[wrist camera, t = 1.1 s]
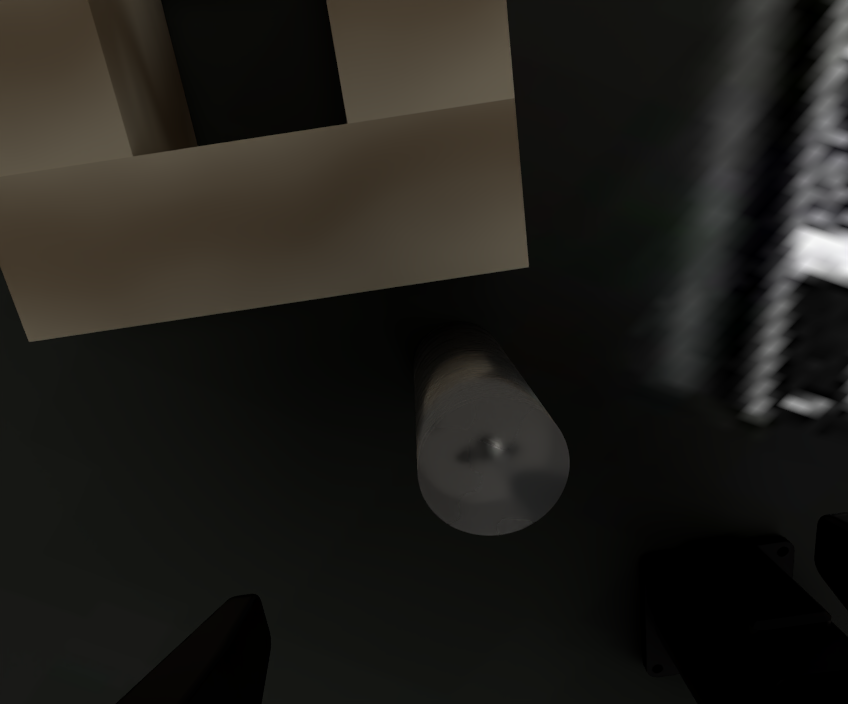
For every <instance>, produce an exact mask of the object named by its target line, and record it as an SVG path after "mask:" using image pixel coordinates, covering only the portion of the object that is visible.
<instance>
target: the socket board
mask: <svg viewBox="0 0 848 704" xmlns="http://www.w3.org/2000/svg"><path fill="white" fill-rule="evenodd" d="M326 2H327V7H328V13H329V19H330V25H331V31H332V36H333V42H334V48H335V54H336V60H337V65H338V71H339V77H340V83H341V88H342V94H343V100H344V106H345V112H346V117H347V123H348V124H342V125H336V126H329V127H323V128H316V129H310V130H303V131H297V132H290V133H284V134H277V135H270V136H264V137H257V138H251V139H244V140H238V141H231V142H225V143H218V144H211V145H205V146H198V145H197V141H196V137H195V133H194V129H193V125H192V121H191V117H190V113H189V109H188V105H187V101H186V97H185V93H184V89H183V85H182V81H181V77H180V74H179V70H178V66H177V62H176V58H175V54H174V50H173V46H172V42H171V38H170V34H169V30H168V26H167V22H166V18H165V14H164V10H163V6H162V2H161V0H0V267H1V269H2V272H3V275H4V277H5V280H6V283H7V285H8V288H9V291H10V293H11V296H12V298H13V301H14V304H15V306H16V309H17V312H18V314H19V317H20V319H21V322H22V325H23V327H24V330H25V333H26V335H27V338H28V340H29V342H32V341H39V340H45V339H52V338H59V337H65V336H72V335H79V334H85V333H92V332H99V331H105V330H112V329H119V328H126V327H132V326H139V325H146V324H152V323H159V322H166V321H172V320H179V319H186V318H192V317H199V316H206V315H212V314H219V313H226V312H232V311H239V310H246V309H252V308H259V307H266V306H272V305H279V304H286V303H292V302H299V301H306V300H312V299H319V298H326V297H332V296H339V295H346V294H352V293H359V292H366V291H372V290H379V289H386V288H392V287H399V286H406V285H412V284H419V283H426V282H432V281H439V280H446V279H452V278H459V277H466V276H473V275H479V274H486V273H493V272H499V271H506V270H513V269H519V268H526V267H529V262H528V251H527V239H526V227H525V215H524V204H523V192H522V180H521V168H520V157H519V145H518V133H517V122H516V110H515V98H514V86H513V75H512V63H511V51H510V39H509V28H508V16H507V4H506V0H326Z"/></svg>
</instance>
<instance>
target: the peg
mask: <svg viewBox="0 0 848 704" xmlns="http://www.w3.org/2000/svg"><path fill="white" fill-rule="evenodd" d="M413 371H414V396H415V422H416V447H417V472H418V482H419V486H420V490H421V492H422V495H423V497H424V499H425V501H426V502H427V504H428V506H429V507H430V508H431V509H432V511H433V512H434V513H435V514H436V515H437V516H438V517H439V518H440V519H442V520H443V521H444V522H446V523H447V524H449V525H451V526H452V527H454V528H456V529H459V530H461V531H464V532H468V533H471V534H477V535H502V534H507V533H512V532H515V531H518V530H521V529H523V528H525V527H527V526H529V525H531V524H533V523H534V522H536V521H538V520H539V519H540V518H541V517H543V516H544V515H545V514H546V513H547V512H548V511H549V510H550V509H551V508H552V507H553V506H554V505H555V503H556V502H557V501H558V499H559V497H560V496H561V494H562V492H563V490H564V488H565V485H566V482H567V479H568V474H569V468H570V458H569V451H568V447H567V444H566V441H565V439H564V437H563V434H562V432H561V431H560V429H559V428H558V426H557V425H556V424H555V422H554V421H553V419H552V418H551V417H550V415H549V414H548V412H547V411H546V410H545V408H544V407H543V405H542V404H541V403H540V401H539V400H538V398H537V397H536V396H535V394H534V393H533V391H532V390H531V388H530V387H529V386H528V384H527V383H526V381H525V380H524V379H523V377H522V376H521V374H520V373H519V372H518V370H517V369H516V367H515V366H514V365H513V363H512V362H511V360H510V359H509V358H508V356H507V355H506V353H505V352H504V351H503V349H502V348H501V346H500V345H499V344H498V342H497V341H496V339H495V338H494V337H493V336H492V335H491V334H490V333H489V332H488V331H487V330H485V329H484V328H482V327H480V326H478V325H475V324H472V323H468V322H451V323H447V324H444V325H441V326H439V327H437V328H435V329H434V330H432V331H431V332H430V333H429V334H427V335H426V336H425V338H424V339H423V340H422V341H421V343H420V344H419V346H418V348H417V350H416V353H415V357H414V364H413Z"/></svg>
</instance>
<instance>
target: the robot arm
mask: <svg viewBox="0 0 848 704" xmlns="http://www.w3.org/2000/svg"><path fill="white" fill-rule="evenodd" d="M779 548H780V549H779ZM778 549H779V550H778ZM814 560H815V565H816V567H817V570H818V572H819V574H820V575H821V577H822V578H823V579H824V581H825V582H826V583H827V585H828V586H829V587H830V588H831V590H832V591H833V592H834V594H835V595H836V596H837V597H838V599H839V600H840V601H841V603H842V604H843V605H844V606H845V608H846V609H847V610H848V512H842V513H835V514H828V515H824V516H822V517H821V518H820V519H819V521H818V524H817V533H816V544H815V555H814ZM793 563H794V546H793V545H792V543H790V542H789V541H788V540H787V539H786V538H785V537H782V536H772V537H765V538H759V539H752V540H745V541H738V542H731V543H724V544H717V545H710V546H703V547H696V548H690V549H683V550H676V551H669V552H662V553H655V554H650V555H647V556H645V557H644V558H643V559H642V561H641V564H640V576H641V612H642V649H643V665H644V667H645V669H646V671H647V673H648V674H649V675H650V676H652V677H662V676H669V675H676V674H680V675H681V677H682V678H683V680H684V682H685V683H686V685H687V687H688V688H689V690H690V692H691V693H692V695H693V697H694V698H695V700H696V702H697V703H698V704H848V637H847V636H846V635H845V634H844V633H843V632H842V631H841V630H840V629H839V628H838V627H837V626H836V625H835V624H834V623H833V622H832V621H831V615H830V614H829V613H828V612H827V611H826V610H825V609H824V608H823V607H822V606H821V605H820V604H819V603H818V602H817V601H816V600H814V599H813V598H812V597H811V596H810V595H809V594H808V593H807V592H806V591H805V590H804V589H803V588H802V587H801V586H800V585H799V584H797V583H796V582H795V581H794V580H793V579H792V576H793ZM654 565H656V566H655V567H654V568H651V567H652V566H654ZM270 650H271V636H270V631H269V628H268V624H267V621H266V617H265V613H264V610H263V606H262V603H261V600H260V598H259V596H258V595H256V594H247V595H240V596H234V597H231V598H230V599H228V600H227V601H226V602H225V603H224V604H223V605H222V606H221V607H220V608H219V609H217V610H216V611H215V612H214V613H213V614H212V615H211V616H210V617H209V618H208V619H207V620H206V621H205V622H203V623H202V624H201V625H200V626H199V627H198V628H197V629H196V630H195V631H194V632H193V633H192V634H190V635H189V636H188V637H187V638H186V639H185V640H184V641H183V642H182V643H181V644H180V645H179V646H178V647H176V648H175V649H174V650H173V651H172V652H171V653H170V654H169V655H168V656H167V657H166V658H165V659H164V660H162V661H161V662H160V663H159V664H158V665H157V666H156V667H155V668H154V669H153V670H152V671H151V672H150V673H148V674H147V675H146V676H145V677H144V678H143V679H142V680H141V681H140V682H139V683H138V684H137V685H135V686H134V687H133V688H132V689H131V690H130V691H129V692H128V693H127V694H126V695H125V696H124V697H123V698H121V699H120V700H119V701H118V702H117V703H116V704H261V703H262V697H263V692H264V686H265V680H266V674H267V668H268V662H269V656H270Z"/></svg>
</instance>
